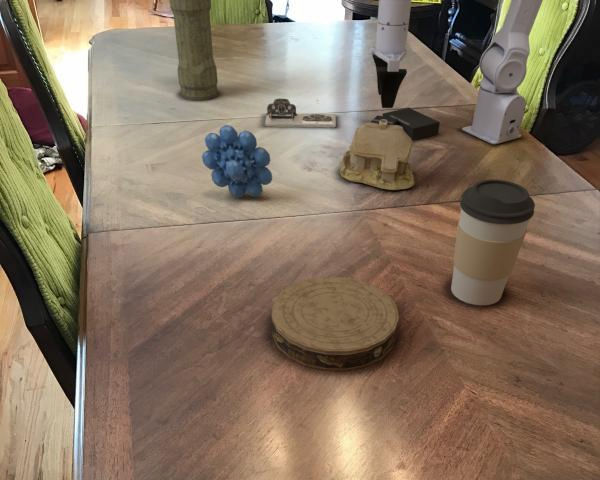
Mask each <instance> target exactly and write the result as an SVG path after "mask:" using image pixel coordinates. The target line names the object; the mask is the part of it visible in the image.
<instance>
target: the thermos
mask: <svg viewBox="0 0 600 480" xmlns="http://www.w3.org/2000/svg"><path fill="white" fill-rule="evenodd" d="M211 8H212V0H169V9H170V10H171V13H172V16H173V21H174V22H173V24H174V32H175V42H176V50H177V59H178V64H177V79H178V85H179V87H180V96H181V97H182V99H185V100H188V101H198V102H199V101H200V102H201V101H208V100H212V99H215V98H217V96H218V95H219V91H218V82H219V80H218V71H217V70H218V69H217V65H216V62H215V59H214V50H213V49H214V48H213V38H212V26H211V25H212V24H211V13H210V12H211Z"/></svg>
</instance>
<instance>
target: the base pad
mask: <svg viewBox="0 0 600 480" xmlns="http://www.w3.org/2000/svg"><path fill="white" fill-rule="evenodd" d="M382 116H384V117H391V118H397V119H398V123H397V125H399V126H401V127H402V128H403V130H404V132H405V133H406V134H407V135H408V136H409V137H410V138H411V139H412V141H413V142H414V141H418V140H421V139H424V138H425V139H426V138H429V137H433V136H436V135H439V129H440V124H441V122H440V121H439V120H436V119H434V118H432V117H430V116H428V115H425V114H423V113H421V112H419V111H417V110H415V109H413V108H411V107H406V108H405V107H404V108H401V109H397V110H392V111H387V112H383V113H382Z"/></svg>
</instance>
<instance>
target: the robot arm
mask: <svg viewBox="0 0 600 480" xmlns="http://www.w3.org/2000/svg"><path fill="white" fill-rule="evenodd" d="M543 1H544V0H510V4H509V6H508V9H507V12H506V14H505V17H504V20H503V22H502V26H501V28H500V29H499V30H498V31H497V32H496V33H495V34H494V35H493V36H492V39H491V42H489V45H488V47H487V48H486V49H485V50H484V51H483V53H482V54H481V57H480V59H479V71H480V73H481V75H482V77H481V80H480V83H479V87H478V93H477V98H476V102H475V109H474V113H473V119H472V124H471V125H468V126H464V127H462V129H461V130H462V131H463V132H465V133H467V134H469V135H471V136H474V137H476V138H478V139H480V140H482V141H484V142H486V143H489V144H490V145H498V144H501V143H505V142H509V141H512V140H516V139H520V138H521V137H522V134H521V133H520V132H521V128H522V123H523V121H524V116H525V112H526V108H527V107H526V106H527V102H526V98H525V97H524V96H523V95H521V94H520V93H519V91H518V88H519V87H520V86H521V85H522V84H523V82H524V80H525V78H526V76H527V70H528V69H527V65H528V64H527V63H528V58H529V56H530V53H531V49H530V48H531V47H530V35H531V32H532V30H533V27H534V24H535V22H536V19H537V17H538V14H539V12H540V8H541V6H542V4H543ZM411 6H412V0H378V11H377V21H376V22H377V23H376V35H375V36H376V37H375V45H374V47H372V46H371V47H368V54H370V55H371V57H372V59H373V62H374V65H375V72H376V79H377V80H376V83H377V93H378V96H380V104H381V108H382V109H393V108H394V106H395V103H396V100H397V99H396V98H397V96H398V93H399V90H400V87H401V85H402V83H403V80H405V78H406V76H407V74H408V69H407V68H400V64H401V61H402V60H403V59H404V58H405V57H406V55H407V53H408V49H407V42H408V34H409V33H408V32H409V27H410V26H409V25H410V16H411Z"/></svg>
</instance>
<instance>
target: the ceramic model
mask: <svg viewBox="0 0 600 480" xmlns="http://www.w3.org/2000/svg"><path fill="white" fill-rule="evenodd" d="M354 131H355V132H354V135H353V138H352V141H351V145H350V146H349V148H348V150H347V151H345V152H344V153H343V157H342V159H341V161H340V162H339V164H338V167H339V174H340V176H341V177H342V178H344V179H345V180H347V181H350V182H355V183H362V184H365V185H369V186H372V187H376V188H378V189H382V190H389V191H399V190H406V189H409V188H413V187H414V186H415V179H414V178H415V176H414V175H413V174H414V173H413V166H412V164H411V163H409V162H408V161H409V160H410V156H411V154H412V153H411V151H412V149H413V145H414V144H413V143H414V140H413V141H412V139H411V138H410V137H409V136H408V135H407V134H406V133H405V132H404V130H403V128H402V127H401V126H399V125H388V124H387V120H386V119H381V120H380V122H379V124H377V123H370V122H364V124H363V125H361V126H360V127H358V128H356V130H354Z"/></svg>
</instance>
